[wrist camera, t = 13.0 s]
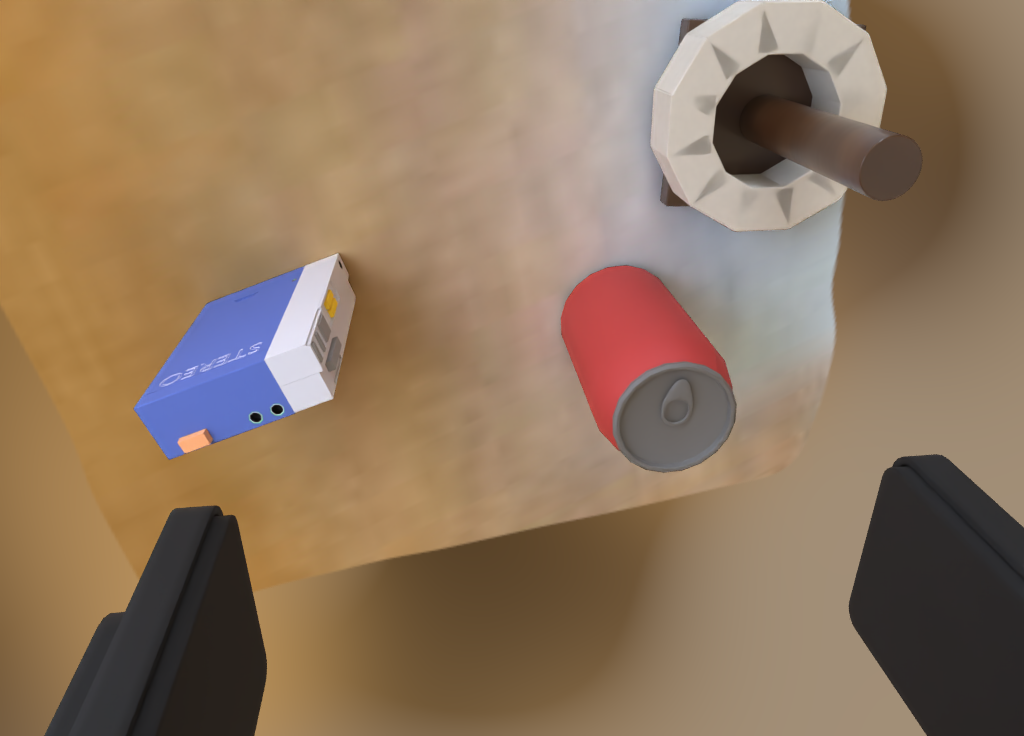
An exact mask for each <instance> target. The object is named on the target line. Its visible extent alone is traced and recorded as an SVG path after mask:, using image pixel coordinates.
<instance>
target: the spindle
mask: <svg viewBox="0 0 1024 736" xmlns="http://www.w3.org/2000/svg"><path fill="white" fill-rule="evenodd" d="M707 20H708V19H682V21H681V29H680V38H679V45H680V43H681V42H682V40H683V38H684V37H685V35H687V33H688V32H690V31H691V30H693V29H694V28H696V27H698V26H699V25H701V24H702V23H704V22H705V21H707ZM856 25H858V24H856ZM858 26H859V27H860V28H862V29H863V30H866V26H865V25H858ZM678 47H679V46H678ZM812 97H813V96H812V93H811V91H810V88H809V85H808V83H807V80H806V77H805V75H804V72H803V69H802V67H801V66H800V65H798V64H797V63H795V62H794V61H793V60H791V59H790V58H788V57H787V56H785V55H767V56H766V57H764V58H762V59H761V60H759V61H758V62H756V63H754V64H753V65H751V66H750V67H748V68H746V69H745V70H743V71H741V72H740V73H738V74H737V75H736V76H735V77H734V79H733V81H732V82H731V84H730V85H729V87H728V88H727V90H726V92H725V93H724V95H723V96H722V98H721V100H720V101H719V103H718V104H717V106H716V114H715V124H714V134H713V145H714V147H715V149H716V152H717V154H718V156H719V158H720V160H721V163H722V165H723V167H724V169H725V171H726V172H727V173H729V174H730V175H739V174H761V173H763V172H764V171H766V170H768V169H769V168H771V167H773V166H775V165H776V164H778V163H780V162H781V161H783V160H785V159H788V160H791V161H793V162H795V163H797V164H799V165H801V166H803V167H805V168H808V169H810V170H812V171H814V172H816V173H818V174H820V175H823V176H825V177H827V178H829V179H831V180H833V181H835V182H838V183H840V184H842V185H844V186H846V187H848V188H851V189H853V190H855V191H857V192H859V193H861V194H863V195H865V196H868V197H870V198H872V199H874V200H878V201H887V200H891V199H895V198H897V197H899V196H901V195H903V194H904V193H905V192H906V191H908V190H909V189H910V188H911V187H912V186H913V184H914V183H915V182H916V180H917V178H918V176H919V174H920V171H921V167H922V153H921V150H920V148H919V146H918V144H917V143H916V142H915V141H914V140H913V139H911V138H909V137H907V136H904V135H901V134H898V133H894V132H891V131H888V130H884V129H881V128H878V127H875V126H871V125H868V124H865V123H862V122H858V121H855V120H852V119H848V118H845V117H842V116H839V115H835V114H832V113H829V112H825V111H822V110H819V109H815V108H812V107H811V103H812ZM660 200H661V202H663V203H664V204H665V205H666V206H690V205H688V204H687V203H686V202H685V201H683V200H682V199H681V198H680V197H679V196H677V195H676V194H675V193H674V192H673V191H672V189H671V187H670V185H669V183H668V181H667V179H666V177H665V175H664V173H663V182H662V190H661V199H660Z"/></svg>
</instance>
